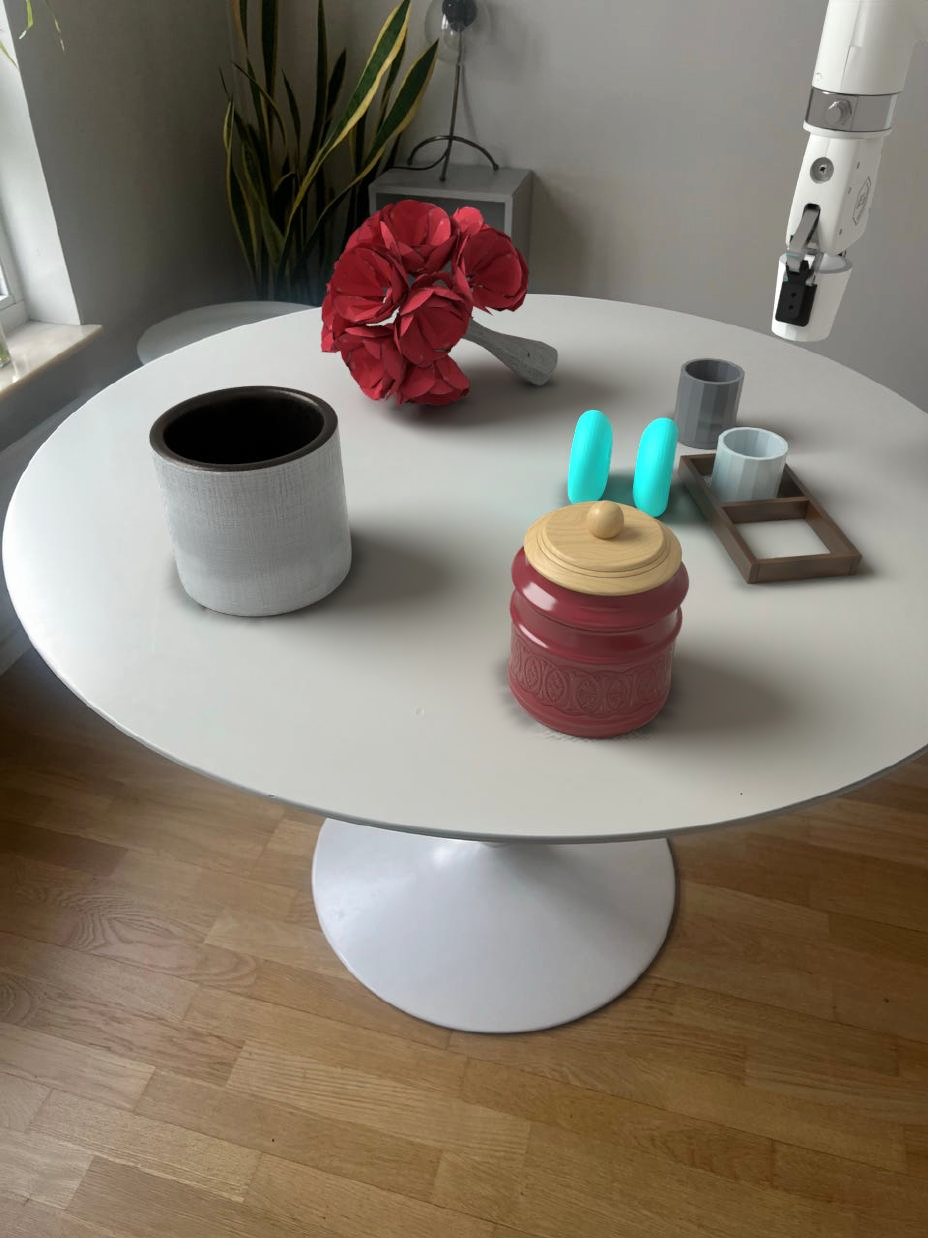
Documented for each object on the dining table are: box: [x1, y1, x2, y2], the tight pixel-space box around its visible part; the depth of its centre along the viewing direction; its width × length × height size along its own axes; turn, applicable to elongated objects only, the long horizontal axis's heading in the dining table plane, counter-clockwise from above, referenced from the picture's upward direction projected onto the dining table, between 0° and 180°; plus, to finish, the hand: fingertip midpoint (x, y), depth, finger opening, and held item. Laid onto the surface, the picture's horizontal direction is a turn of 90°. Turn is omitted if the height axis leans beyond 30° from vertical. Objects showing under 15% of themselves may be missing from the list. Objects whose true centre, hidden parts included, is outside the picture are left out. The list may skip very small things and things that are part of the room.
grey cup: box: [672, 357, 746, 450], centre depth 107 cm, size 7×7×8 cm
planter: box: [148, 385, 353, 617], centre depth 84 cm, size 16×16×16 cm
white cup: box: [771, 252, 854, 343], centre depth 92 cm, size 7×7×7 cm
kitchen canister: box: [506, 500, 690, 739], centre depth 70 cm, size 13×13×18 cm
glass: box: [708, 426, 789, 503], centre depth 96 cm, size 7×7×7 cm
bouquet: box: [320, 199, 559, 409], centre depth 113 cm, size 22×24×30 cm
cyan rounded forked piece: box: [567, 409, 678, 518], centre depth 95 cm, size 10×10×10 cm
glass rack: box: [677, 452, 863, 585], centre depth 93 cm, size 11×20×3 cm, turn 8°
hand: (805, 309), depth 93 cm, fingers closed on white cup, 6 cm apart
